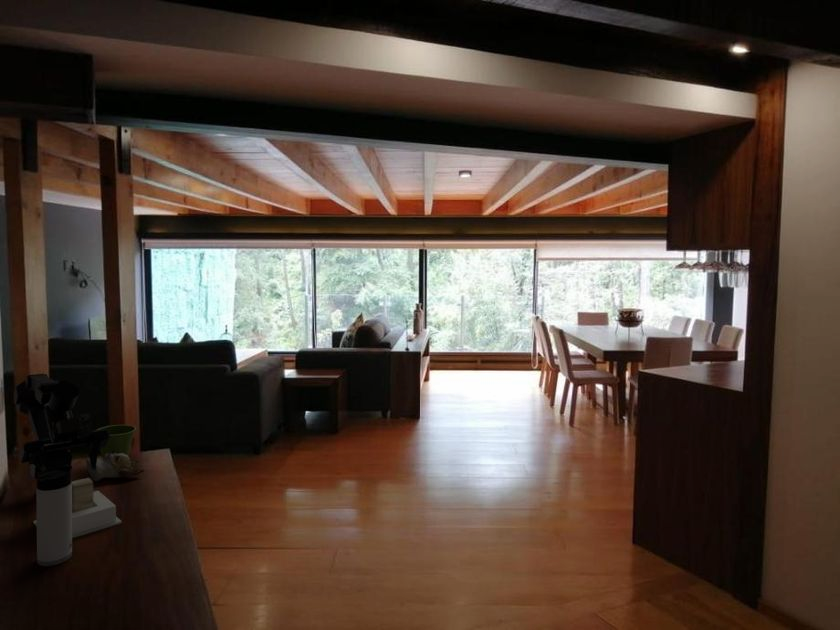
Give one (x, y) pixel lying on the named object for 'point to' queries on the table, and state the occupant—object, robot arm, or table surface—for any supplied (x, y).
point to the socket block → (94, 516)
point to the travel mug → (54, 515)
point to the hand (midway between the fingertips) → (73, 473)
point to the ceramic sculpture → (113, 467)
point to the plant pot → (118, 439)
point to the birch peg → (82, 494)
